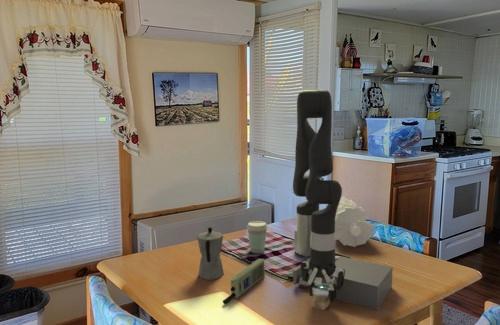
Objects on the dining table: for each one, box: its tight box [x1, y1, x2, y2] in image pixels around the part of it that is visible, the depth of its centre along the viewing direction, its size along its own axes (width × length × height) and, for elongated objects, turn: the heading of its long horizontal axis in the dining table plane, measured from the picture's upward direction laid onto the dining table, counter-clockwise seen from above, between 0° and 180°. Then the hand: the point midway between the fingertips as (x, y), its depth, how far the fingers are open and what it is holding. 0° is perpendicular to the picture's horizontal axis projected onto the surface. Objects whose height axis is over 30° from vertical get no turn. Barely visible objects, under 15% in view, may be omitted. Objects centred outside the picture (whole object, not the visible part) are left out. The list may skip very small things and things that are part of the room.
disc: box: [312, 283, 330, 298], centre depth 125 cm, size 6×6×2 cm
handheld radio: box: [222, 258, 266, 305], centre depth 137 cm, size 7×3×25 cm
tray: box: [292, 257, 322, 286], centre depth 140 cm, size 18×18×5 cm
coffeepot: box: [196, 226, 225, 281], centre depth 147 cm, size 15×9×18 cm, turn 0°
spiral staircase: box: [325, 196, 376, 248], centre depth 184 cm, size 18×18×25 cm
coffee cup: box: [246, 220, 268, 254], centre depth 172 cm, size 8×9×12 cm
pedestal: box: [313, 295, 331, 311], centre depth 125 cm, size 3×4×4 cm
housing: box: [322, 256, 393, 311], centre depth 134 cm, size 18×17×8 cm
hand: (322, 297), depth 125 cm, fingers closed on disc, 6 cm apart
